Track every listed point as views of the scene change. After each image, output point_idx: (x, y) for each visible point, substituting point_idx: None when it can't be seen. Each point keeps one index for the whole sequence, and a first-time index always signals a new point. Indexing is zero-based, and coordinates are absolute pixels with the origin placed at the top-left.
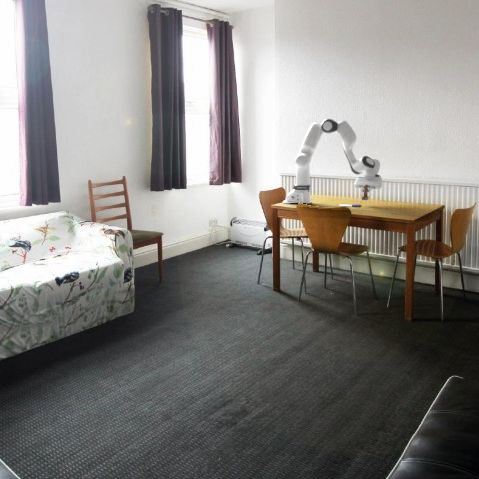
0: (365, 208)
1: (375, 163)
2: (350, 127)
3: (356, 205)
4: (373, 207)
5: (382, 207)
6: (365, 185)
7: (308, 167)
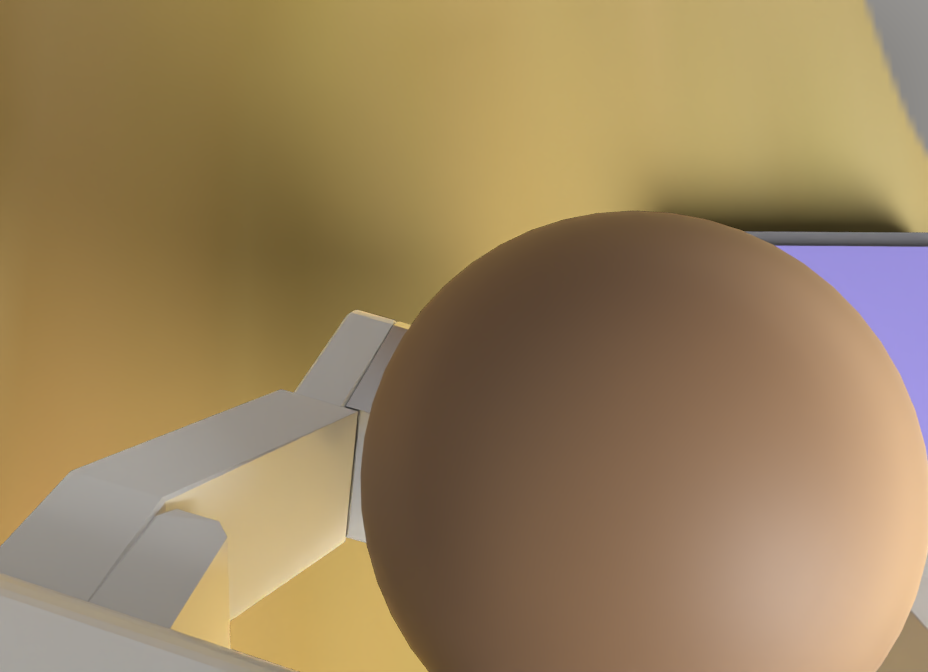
0: (509, 41)
1: None
2: None
3: (806, 235)
4: (295, 269)
5: (44, 315)
6: (706, 243)
7: None
